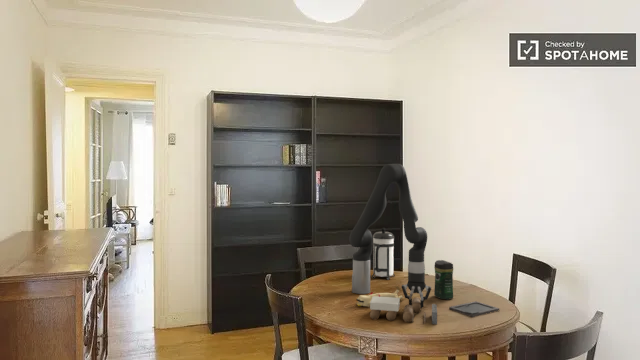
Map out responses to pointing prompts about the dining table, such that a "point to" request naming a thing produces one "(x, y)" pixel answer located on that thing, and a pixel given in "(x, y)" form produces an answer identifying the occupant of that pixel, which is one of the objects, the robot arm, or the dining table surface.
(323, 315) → the dining table surface
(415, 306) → the roller
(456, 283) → the dining table surface
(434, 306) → the block
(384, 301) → the slab
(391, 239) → the coffee press
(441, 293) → the coffee jar
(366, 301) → the cat figure
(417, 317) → the dining table surface
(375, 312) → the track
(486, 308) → the picture frame
